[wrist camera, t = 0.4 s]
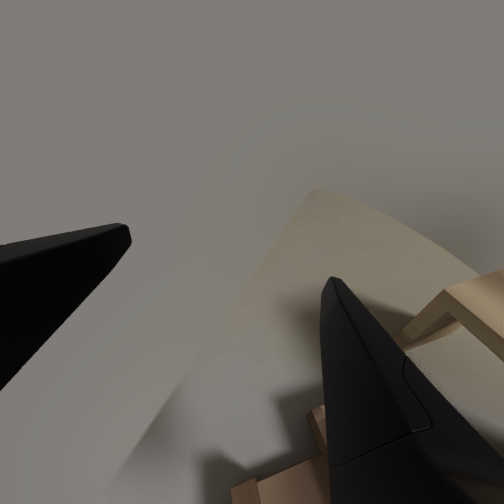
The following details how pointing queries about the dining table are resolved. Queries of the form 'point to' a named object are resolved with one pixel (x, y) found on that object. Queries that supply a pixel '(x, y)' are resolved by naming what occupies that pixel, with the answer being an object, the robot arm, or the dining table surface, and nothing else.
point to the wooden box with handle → (293, 476)
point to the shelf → (462, 314)
